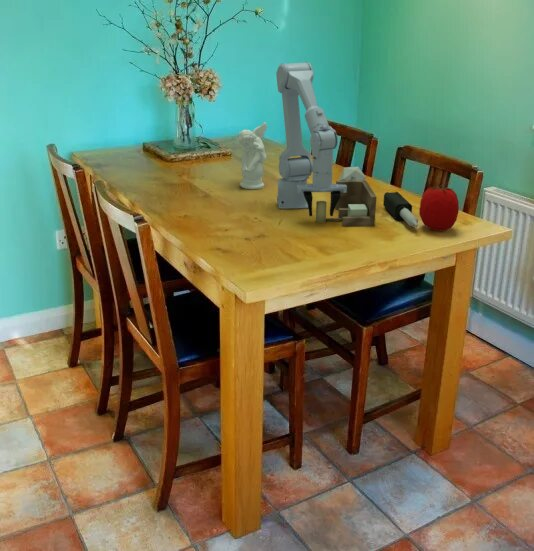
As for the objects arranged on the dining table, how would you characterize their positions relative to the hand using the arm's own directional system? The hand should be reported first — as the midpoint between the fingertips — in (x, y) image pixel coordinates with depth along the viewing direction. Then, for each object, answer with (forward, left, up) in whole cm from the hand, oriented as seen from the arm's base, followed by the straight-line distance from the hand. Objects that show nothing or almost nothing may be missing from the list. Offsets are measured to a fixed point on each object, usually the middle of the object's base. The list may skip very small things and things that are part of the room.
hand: (320, 215), depth 208 cm
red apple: (+34, -8, -2) cm, 35 cm away
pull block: (+6, 0, -2) cm, 6 cm away
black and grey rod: (+24, +13, +1) cm, 27 cm away
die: (+14, +33, -2) cm, 36 cm away
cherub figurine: (-20, +40, -2) cm, 45 cm away
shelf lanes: (+10, +4, -2) cm, 11 cm away
